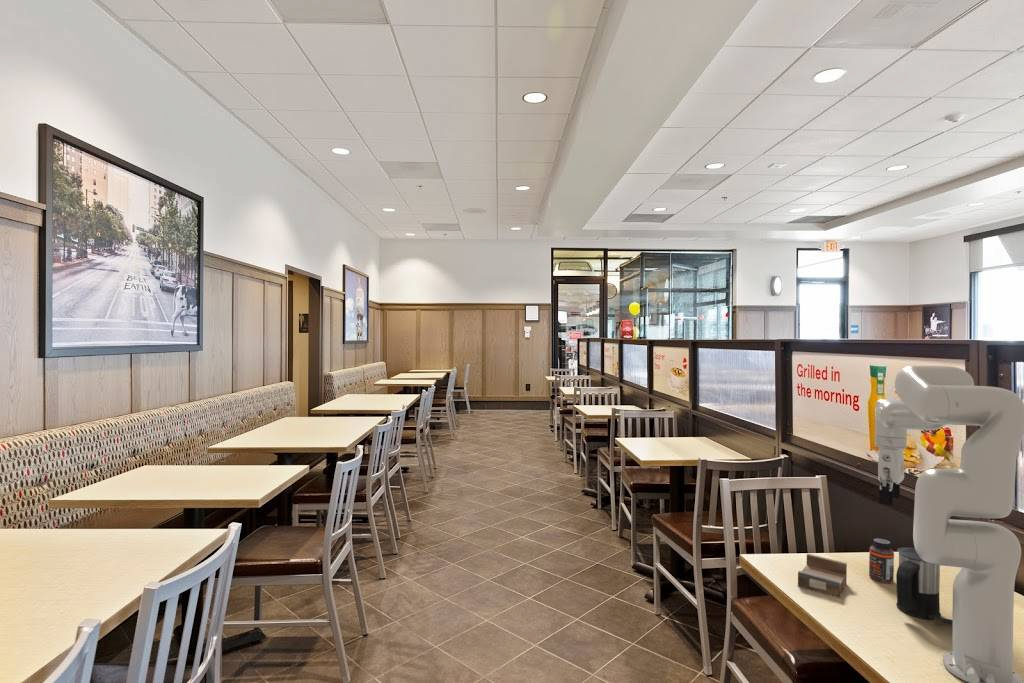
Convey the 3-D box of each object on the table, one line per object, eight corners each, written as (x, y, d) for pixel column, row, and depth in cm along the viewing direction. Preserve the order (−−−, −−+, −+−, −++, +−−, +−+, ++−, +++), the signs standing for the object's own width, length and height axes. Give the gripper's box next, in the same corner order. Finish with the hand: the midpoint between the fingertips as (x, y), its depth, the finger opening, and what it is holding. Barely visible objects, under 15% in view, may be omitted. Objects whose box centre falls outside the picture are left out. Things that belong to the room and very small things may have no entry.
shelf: (838, 598, 144) (838, 576, 144) (797, 586, 151) (797, 565, 151) (846, 584, 153) (846, 563, 153) (807, 573, 159) (807, 553, 159)
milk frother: (898, 598, 144) (898, 543, 144) (975, 618, 134) (976, 559, 134) (892, 619, 134) (892, 559, 133) (975, 642, 123) (976, 578, 123)
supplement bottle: (864, 577, 157) (864, 538, 157) (876, 573, 160) (877, 535, 160) (885, 585, 152) (886, 545, 152) (898, 581, 154) (898, 542, 154)
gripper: (900, 448, 146) (899, 510, 146) (911, 439, 158) (910, 497, 159) (868, 444, 152) (867, 504, 152) (881, 436, 164) (880, 491, 164)
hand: (889, 500), depth 155 cm, fingers open, 9 cm apart
